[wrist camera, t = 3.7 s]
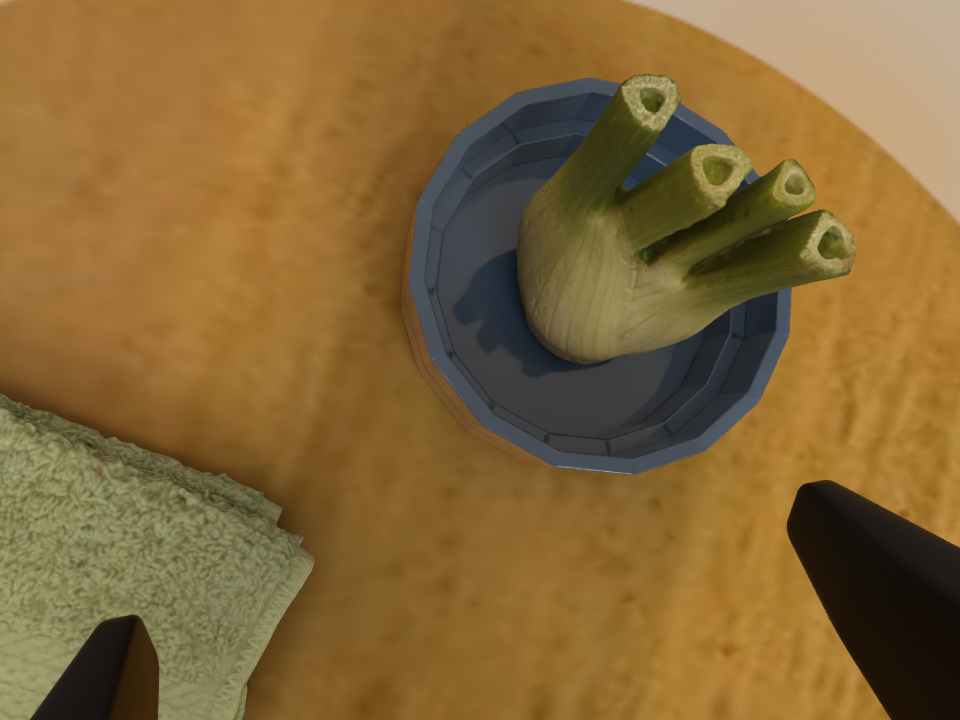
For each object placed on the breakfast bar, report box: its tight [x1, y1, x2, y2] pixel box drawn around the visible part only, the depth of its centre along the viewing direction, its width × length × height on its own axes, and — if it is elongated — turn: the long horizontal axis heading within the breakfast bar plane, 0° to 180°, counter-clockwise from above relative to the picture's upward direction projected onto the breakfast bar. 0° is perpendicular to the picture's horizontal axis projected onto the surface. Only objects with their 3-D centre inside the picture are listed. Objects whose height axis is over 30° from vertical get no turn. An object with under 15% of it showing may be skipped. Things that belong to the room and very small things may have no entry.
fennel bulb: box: [516, 74, 856, 365], centre depth 19 cm, size 6×5×12 cm
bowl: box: [400, 78, 792, 475], centre depth 23 cm, size 12×12×4 cm
